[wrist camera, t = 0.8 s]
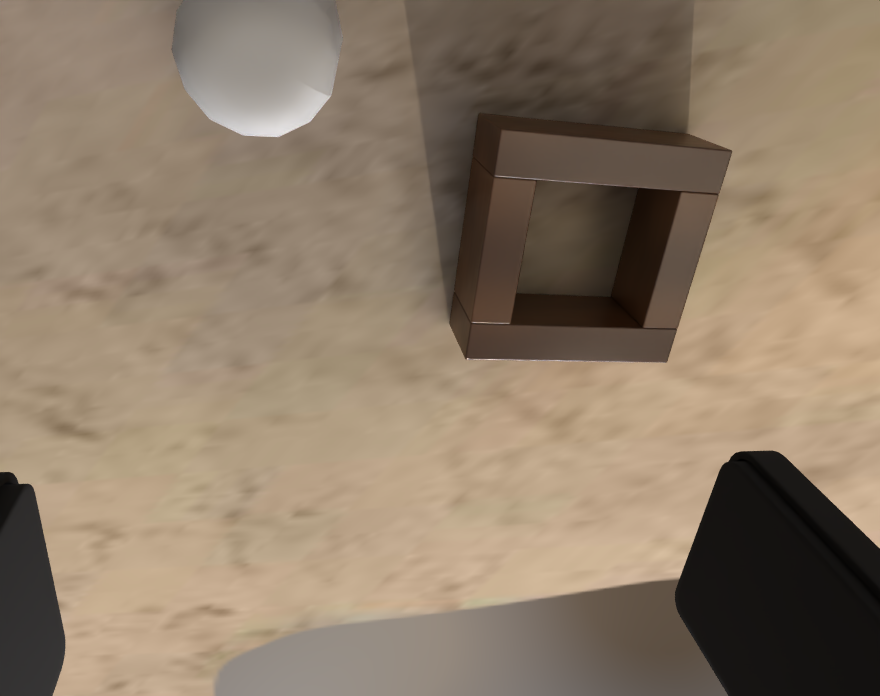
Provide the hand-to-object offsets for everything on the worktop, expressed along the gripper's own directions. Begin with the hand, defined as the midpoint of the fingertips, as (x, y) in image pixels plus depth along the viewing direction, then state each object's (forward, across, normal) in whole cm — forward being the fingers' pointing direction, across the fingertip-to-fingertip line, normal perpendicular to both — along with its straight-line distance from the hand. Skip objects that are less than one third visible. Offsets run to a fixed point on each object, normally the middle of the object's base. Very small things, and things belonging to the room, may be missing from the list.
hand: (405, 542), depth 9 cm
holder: (+25, -12, +3) cm, 28 cm away
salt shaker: (+25, +3, -5) cm, 26 cm away
